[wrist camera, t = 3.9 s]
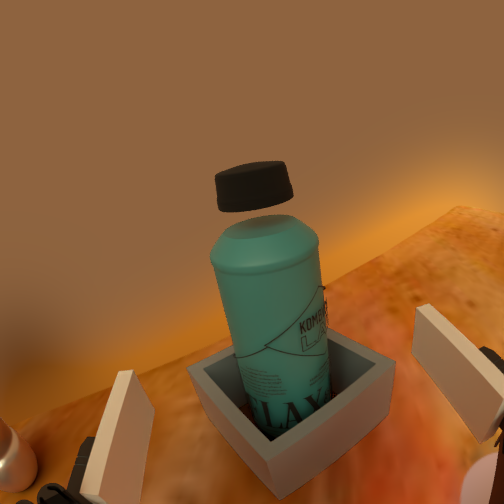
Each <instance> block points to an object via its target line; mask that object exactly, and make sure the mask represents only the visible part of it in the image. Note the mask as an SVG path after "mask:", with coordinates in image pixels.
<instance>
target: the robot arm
mask: <svg viewBox="0 0 504 504" xmlns="http://www.w3.org/2000/svg"><path fill="white" fill-rule="evenodd" d="M411 353H412V354H413V355H414V357H415V358H416V359H417V361H418V362H419V363H420V364H421V366H422V367H423V368H424V369H425V371H426V372H427V373H428V374H429V376H430V377H431V378H432V380H433V381H434V382H435V384H436V385H437V386H438V387H439V389H440V390H441V391H442V393H443V394H444V395H445V397H446V398H447V399H448V401H449V402H450V403H451V405H452V406H453V407H454V409H455V410H456V411H457V413H458V414H459V415H460V417H461V418H462V420H463V421H464V422H465V424H466V425H467V426H468V428H469V429H470V431H471V432H472V433H473V435H474V436H475V438H476V439H477V440H478V442H479V443H480V444H481V443H483V442H485V441H486V440H488V439H489V438H491V437H492V436H494V434H495V433H496V431H497V429H498V427H500V428H501V430H502V432H501V434H500V436H499V437H498V439H497V441H496V442H495V445H494V447H496V446H497V445H498V443H499V442H500V444H499V452H498V459H497V466H496V471H495V477H494V482H493V487H492V492H491V496H490V501H489V504H504V360H503V359H501V357H500V356H499V355H498V354H497V353H496V352H494V351H493V350H491V349H489V348H487V347H485V346H483V347H481V348H480V349H478V348H477V347H476V346H475V345H474V344H472V343H471V342H470V341H469V340H468V339H467V338H466V337H465V336H464V335H463V334H462V333H461V332H460V331H459V330H458V329H457V328H456V327H455V326H453V325H452V324H451V323H450V322H449V321H448V320H447V319H446V318H445V317H444V316H443V315H442V314H440V313H439V312H438V311H437V310H436V309H435V308H434V307H433V306H432V305H430V304H429V303H428V304H425V305H422V306H419V307H416V314H415V325H414V335H413V344H412V352H411ZM154 413H155V409H154V407H153V406H152V404H151V402H150V400H149V399H148V397H147V395H146V393H145V391H144V389H143V388H142V386H141V384H140V382H139V380H138V378H137V376H136V374H135V372H134V370H128V371H119V372H118V375H117V377H116V380H115V383H114V385H113V388H112V391H111V394H110V397H109V399H108V402H107V405H106V408H105V411H104V414H103V417H102V420H101V423H100V426H99V429H98V432H97V435H96V437H87V438H86V439H85V441H84V442H83V443H82V445H81V446H80V449H79V452H78V455H77V456H78V457H77V458H76V461H75V465H74V467H73V470H72V474H71V477H70V480H69V483H68V487H67V490H65V489H64V488H63V487H62V486H61V485H59V484H57V483H49V484H46V485H45V486H43V487H42V488H41V489H40V491H39V492H38V495H37V503H38V504H140V498H141V491H142V484H143V477H144V471H145V464H146V458H147V452H148V446H149V440H150V435H151V429H152V423H153V418H154ZM16 504H33V503H32V502H30V501H28V500H20V501H18V502H17V503H16Z"/></svg>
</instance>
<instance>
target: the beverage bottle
mask: <svg viewBox="0 0 504 504" xmlns="http://www.w3.org/2000/svg"><path fill="white" fill-rule="evenodd" d="M215 183H216V191H217V204H218V208H219V210H220V211H222V212H244V211H251V210H257V209H262V208H267V207H271V206H274V205H277V204H280V203H283V202H286V201H288V200H290V199H291V198H293V196H294V195H293V189H292V185H291V183H290V180H289V176H288V172H287V168H286V165H285V163H284V162H282V161H266V162H254V163H248V164H243V165H239V166H236V167H233V168H231V169H228V170H225V171H222V172H220V173H218V174H216V175H215ZM318 245H319V240H318V236H317V234H316V233H315V232H314V231H313V230H312V229H311V228H310V227H309V226H307V225H306V224H304V223H303V222H302V221H300V220H298V219H296V218H295V217H293V216H289V215H268V216H261V217H256V218H252V219H248V220H245V221H242V222H239V223H236V224H234V225H232V226H230V227H229V228H227V229H226V230H225V231H224V232H223V233H222V235H221V236H220V237H219V239H218V240H217V242H216V243H215V245H214V246H213V248H212V250H211V253H210V260H211V263H212V265H213V267H214V271H215V275H216V279H217V283H218V287H219V291H220V295H221V299H222V303H223V307H224V311H225V314H226V318H227V322H228V326H229V330H230V333H231V337H232V341H233V345H234V351H235V354H234V355H236V357H234V355H233V357H234V358H237V362H238V365H239V366H237V367H238V368H239V369H240V373H241V374H239V375H241V376H242V382H243V383H244V387H245V390H246V391H245V392H246V394H245V396H247V398H248V402H247V400H246V402H247V403H249V405H250V408H251V412H252V416H253V418H254V420H255V422H256V423H257V425H258V426H259V427H260V429H261V430H263V431H264V432H265V433H267V434H269V435H270V436H273V437H277V438H278V437H279V436H281V435H282V434H284V433H286V432H287V431H289V430H290V429H292V428H293V427H295V426H296V425H298V424H299V423H300V422H302V421H303V420H305V419H306V418H308V417H309V416H310V415H312V414H313V413H315V412H316V411H317V410H319V409H320V408H322V407H323V406H324V405H326V404H327V403H328V402H330V401H331V400H332V399H333V398H332V381H331V373H330V374H329V370H330V369H329V366H330V365H329V361H330V358H329V357H328V344H327V329H328V328H327V329H326V320H327V319H328V318H327V317H326V318H325V314H326V312H325V305H326V303H327V301H326V302H324V295H323V290H324V289H326V288H325V287H324V286H322V281H321V271H320V261H319V253H318V252H319V251H318ZM326 300H327V299H326ZM326 306H327V305H326ZM326 310H327V307H326ZM327 315H328V314H326V316H327ZM328 325H329V324H328ZM328 340H329V338H328ZM330 355H331V354H330ZM328 359H329V360H328ZM330 363H331V361H330ZM236 365H237V364H236ZM330 367H331V366H330ZM241 376H240V377H241ZM240 380H241V379H240ZM330 382H331V383H330ZM242 385H243V384H242ZM330 385H331V388H330ZM242 388H243V387H242ZM330 390H331V392H330ZM330 393H331V400H330ZM248 408H249V407H248ZM253 422H254V421H253Z"/></svg>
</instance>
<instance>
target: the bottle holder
mask: <svg viewBox="0 0 504 504" xmlns="http://www.w3.org/2000/svg"><path fill="white" fill-rule="evenodd" d="M327 328H328V327H326V329H327ZM328 338H329V340H328ZM327 344H328V357H329V358H330V361H331V363H330V361H329V365H330V366H331V367H330V366H329V369H330V370H329V374H330V373H331V381H332V391H334V392H335V393H337V394H338V396H336V397H335V398H334V399H332V400H331V401H330V402H328V403H327V404H326V405H324V406H323V407H322V408H320V409H319V410H317V411H316V412H315V413H313V414H312V415H310V416H309V417H308V418H306V419H305V420H303V421H302V422H300V423H299V424H298V425H296V426H295V427H293V428H292V429H290V430H289V431H287V432H286V433H284V434H282V435H281V436H279V437H278V438H276V439H275V440H273V441H272V442H270V441H269V440H268V439H267V438H266V437H265V436H264V435H263V434H262V433H261V432H260V431H259V430H258V429H257V428H256V427H255V426H254V425H253V424H252V423H251V422H250V420H249V419H248V418H247V417H246V416H245V415H244V414H243V413H242V412H241V411H240V410H239V409H238V408H239V407H241V406H243V405H245V404H247V402H248V398H247V396H245V394H246V392H245V391H246V390H245V387H244V383H243V382H242V376H241V375H239V374H241V373H240V369H239V368H238V367H237V366H239V365H238V362H237V358H234V357H236V355H234V354H235V351H234V345H232V346H230V347H228V348H226V349H224V350H222V351H220V352H218V353H216V354H214V355H212V356H210V357H208V358H206V359H204V360H202V361H199V362H197V363H195V364H193V365H191V366H189V367H187V371H188V373H189V376H190V378H191V380H192V383H193V385H194V387H195V390H196V392H197V394H198V397H199V399H200V401H201V404H202V406H203V408H204V410H205V412H206V415H207V416H208V418H209V419H210V420H211V422H212V423H213V424H214V426H215V427H216V428H217V429H218V431H219V432H220V433H221V434H222V436H223V437H224V438H225V439H226V441H227V442H228V443H229V444H230V445H231V447H232V448H233V449H234V450H235V451H236V453H237V454H238V455H239V456H240V457H241V459H242V460H243V461H244V462H245V463H246V464H247V465H248V467H249V468H250V469H251V470H252V471H253V472H254V473H255V475H256V476H257V477H258V478H259V479H260V480H261V481H262V482H263V483H264V484H265V485H266V487H267V488H268V489H269V490H270V491H271V492H272V493H273V494H274V495H275V496H276V497H277V498H278V499H279V500H281V499H283V498H285V497H286V496H288V495H289V494H291V493H292V492H294V491H295V490H297V489H298V488H300V487H301V486H302V485H304V484H305V483H307V482H308V481H310V480H311V479H312V478H314V477H315V476H316V475H318V474H319V473H320V472H322V471H323V470H324V469H326V468H327V467H328V466H330V465H331V464H332V463H334V462H335V461H336V460H337V459H339V458H340V457H341V456H342V455H344V454H345V453H346V452H347V451H348V450H350V449H351V448H352V447H353V446H354V445H355V444H357V443H358V442H359V441H360V440H361V439H362V438H364V437H365V436H366V435H367V434H368V433H369V432H370V431H371V430H372V429H374V428H375V427H376V426H377V425H378V424H379V423H380V422H381V421H382V420H383V419H384V418H385V417H386V416H387V415H388V414H389V408H390V402H391V396H392V389H393V381H394V373H395V365H396V361H394V360H392V359H390V358H388V357H386V356H383V355H381V354H379V353H377V352H375V351H373V350H371V349H369V348H367V347H365V346H363V345H361V344H359V343H357V342H355V341H353V340H351V339H349V338H347V337H345V336H343V335H342V334H340V333H338V332H336V331H334V330H332V329H330V328H328V329H327ZM330 354H331V355H330ZM233 355H234V357H233ZM328 360H329V359H328ZM236 364H237V365H236ZM240 376H241V377H240ZM240 379H241V380H240ZM330 383H331V382H330ZM242 384H243V385H242ZM242 387H243V388H242ZM330 388H331V385H330ZM246 400H247V402H246Z"/></svg>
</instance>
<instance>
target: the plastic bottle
mask: <svg viewBox="0 0 504 504" xmlns="http://www.w3.org/2000/svg"><path fill="white" fill-rule="evenodd" d="M37 471H38V464H37V459H36V455H35V453H34V452H33V450H32V449H31V447H30V446H29V444H28V443H27V441H26V440H25V439H24V438H23V437H21V436H20V435H19V434H18V433H17V432H16V431H15V430H13V429H12V428H11V427H10V426H8V425H7V424H6V423H5V422H4V421H3V420H2V418H1V417H0V490H2V491H5V492H11V493H17V492H21V491H23V490H25V489H27V488H28V487H29V486H30V485H31V484H32V483H33V481H34V480H35V478H36V475H37Z"/></svg>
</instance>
